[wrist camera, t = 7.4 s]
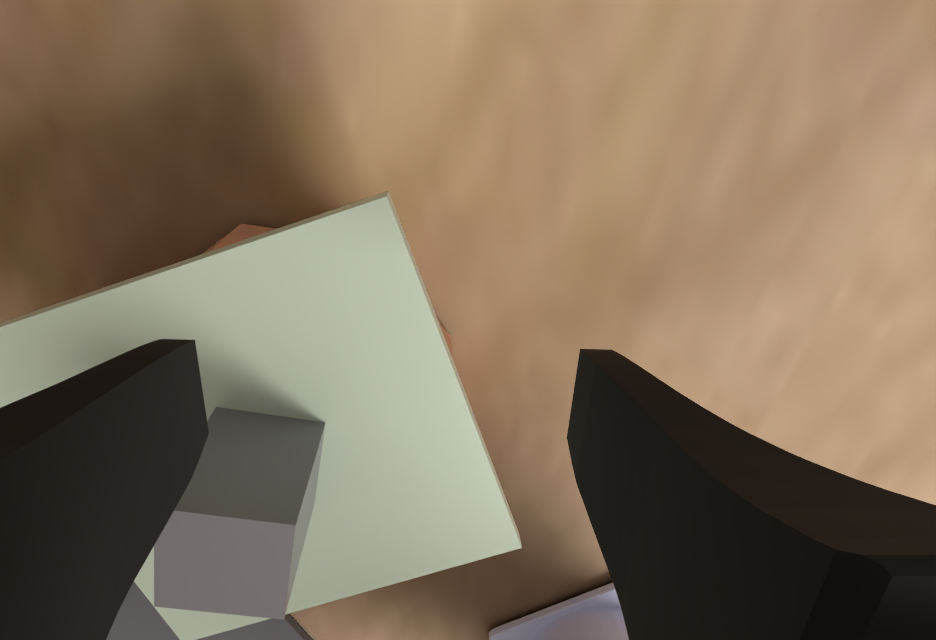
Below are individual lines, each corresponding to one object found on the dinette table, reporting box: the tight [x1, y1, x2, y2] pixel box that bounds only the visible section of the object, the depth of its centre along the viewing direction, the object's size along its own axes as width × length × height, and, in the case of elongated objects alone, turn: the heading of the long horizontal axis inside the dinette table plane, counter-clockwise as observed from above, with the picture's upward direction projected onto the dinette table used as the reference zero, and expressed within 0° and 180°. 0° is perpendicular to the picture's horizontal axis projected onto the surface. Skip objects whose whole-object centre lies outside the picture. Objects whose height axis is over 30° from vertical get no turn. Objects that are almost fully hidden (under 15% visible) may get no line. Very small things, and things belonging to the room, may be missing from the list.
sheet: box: [0, 191, 522, 640], centre depth 16 cm, size 12×12×5 cm
